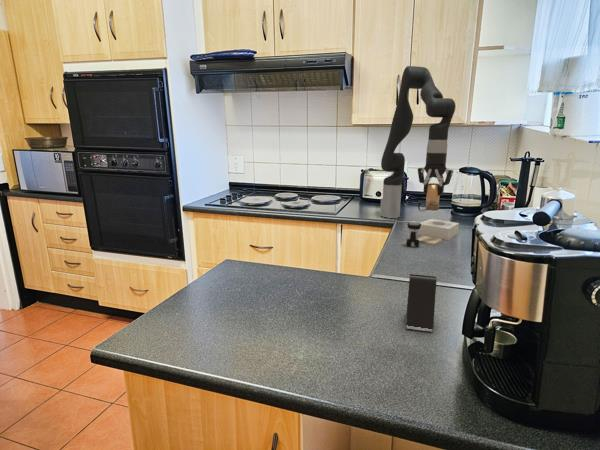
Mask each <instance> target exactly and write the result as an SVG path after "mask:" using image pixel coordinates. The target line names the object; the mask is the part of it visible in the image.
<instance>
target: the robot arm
mask: <svg viewBox="0 0 600 450" xmlns="http://www.w3.org/2000/svg"><path fill="white" fill-rule="evenodd" d="M410 89H413V90H420V99H421V100H422V102H423V103H424V104H425V112H426V115H427V116H429V117H430V118H441V120H440V122H438V123H433V124H431V125H430V126H429V129H428V140H427V144H426V155H425V156H426V157H425V165H424V167H418V168H417V174H418V182H419V183H420V184H423V190H422V191H423V193H424V195H427V184H429V183H430V181H431V179H432V178H435V179H437V181H438V184H439V185H440V186H439V191H438V195H439V196H442V195H443V194H444V192H445V191H444V189H445V186H447V185H449V184H450V182H451V180H452V177H453V174H454V170H453V169H449V168H447V166H446V165H447V164H446V163H447V155H448V138H449V137H448V136H449V128H450V126H451V122H452V120H453V117H454V115H455V112H456V102H455V100H454V99H453V98H449V97H448V98H446V97H445V98H444V96H443V93H442V92H441V91H440V90H439V89H438V87H437V86H436V85H435V82H434V79H433V77H432V74H431V72H430V70H429V69H428V68H427V67H425V66H416V65H415V66H413V65H407V66H406V67H405V68H404V70H403V72H402V75H401V80H400V87H399V91H398V98H397V102H396V106H395V110H394V114H393V117H392V121H391V127H390V130H389V135H388V138H387V143H386V144H385V147H384V150H383V153H382V155H381V156H382V157H381V161H380V167H381V169H382V171H384V172H392V174H391V175H389V176H387V177H385V178H383V186H382V187H383V188H382V198H380V211H379V216H380V217H381V216H383V217H382V218H384V217H387V218H386V219H390V218H395V219H398V218H397V217H399V218H400V215H401V198H402V184H403V179H404V173H405V164H406V163H405V161H406V160H405V156H404V153H401V152H395V151H396V149H397V147H398V146H399V145H400V143H401V142H402V141H404V139H405V138H407V136H408V135H409V133H410V131H411V129H412V126H413V121H414V114H413V110H412V108H411V105H410V102H409V91H410ZM425 173H426V176H425ZM444 174H445V175H446V177H445V180H444V176H443V175H444Z"/></svg>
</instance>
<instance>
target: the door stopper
mask: <svg viewBox="0 0 600 450" xmlns="http://www.w3.org/2000/svg"><path fill="white" fill-rule="evenodd" d="M408 279H409V283H408V292H407V293H408V295H407V304H406V315H407V322H406V321H405V324H406V325H408V326H414V327H421V328H428V329H433V330H434V324H435V323H434V322H435V308H436V306H435V305H436V295H437V293H436V291H437V276H434V275H433V276H431V275H424V274H423V275H421V274H413V273H411V274H410V273H409V278H408ZM406 325H405V326H406Z"/></svg>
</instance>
